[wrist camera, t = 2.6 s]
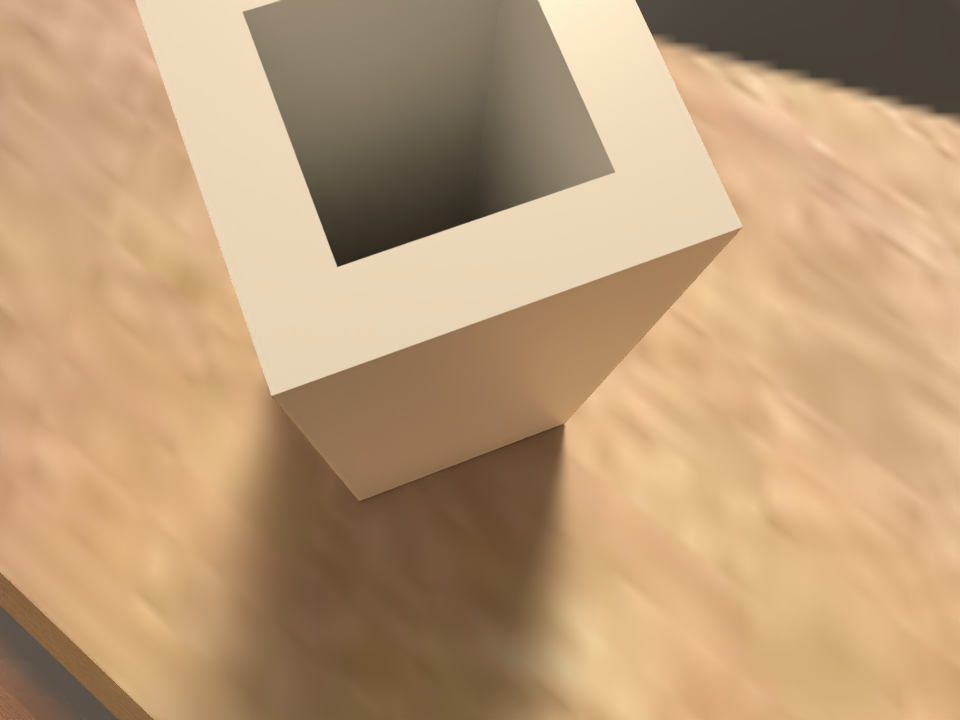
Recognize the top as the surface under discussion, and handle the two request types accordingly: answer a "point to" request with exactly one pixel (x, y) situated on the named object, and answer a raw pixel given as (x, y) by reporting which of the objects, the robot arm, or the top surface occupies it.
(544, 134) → the sleeve
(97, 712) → the seat plate
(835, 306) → the top surface
